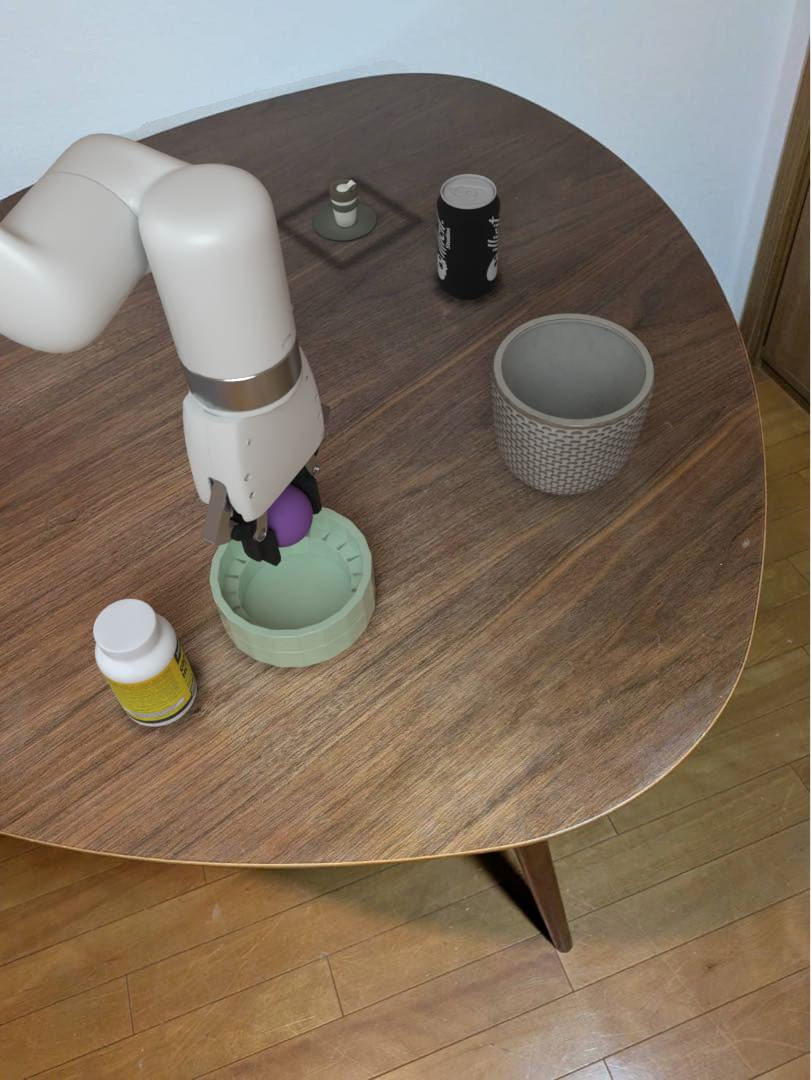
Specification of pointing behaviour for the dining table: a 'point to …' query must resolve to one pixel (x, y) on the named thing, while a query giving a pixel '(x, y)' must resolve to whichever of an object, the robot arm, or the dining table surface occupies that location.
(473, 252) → the beverage can
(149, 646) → the pill bottle
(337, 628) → the bowl
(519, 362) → the planter
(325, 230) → the coffee cup
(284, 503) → the ball
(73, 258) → the robot arm
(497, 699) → the dining table surface
